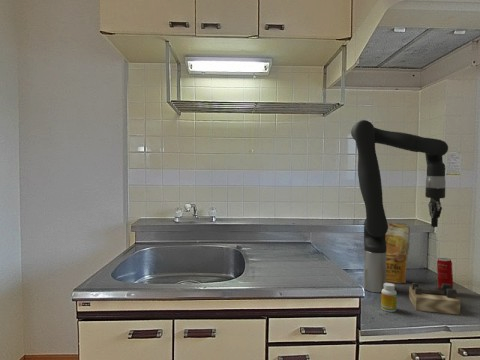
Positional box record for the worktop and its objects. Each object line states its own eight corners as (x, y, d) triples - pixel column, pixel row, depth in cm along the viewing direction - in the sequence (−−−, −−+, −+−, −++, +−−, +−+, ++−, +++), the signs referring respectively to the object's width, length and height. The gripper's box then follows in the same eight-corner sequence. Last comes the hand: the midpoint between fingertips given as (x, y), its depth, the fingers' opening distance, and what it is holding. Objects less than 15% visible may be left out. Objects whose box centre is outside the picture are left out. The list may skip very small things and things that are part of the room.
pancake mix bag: (366, 276, 182) (367, 220, 181) (408, 281, 175) (409, 223, 174) (365, 279, 176) (366, 222, 175) (408, 285, 169) (410, 225, 167)
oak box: (415, 310, 139) (416, 289, 139) (409, 297, 153) (409, 278, 152) (459, 314, 135) (460, 293, 135) (448, 301, 149) (449, 281, 148)
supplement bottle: (394, 313, 136) (395, 287, 136) (379, 310, 139) (380, 285, 139) (397, 308, 141) (397, 283, 140) (382, 305, 143) (383, 281, 143)
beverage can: (455, 296, 155) (456, 261, 154) (438, 295, 156) (439, 260, 155) (450, 291, 160) (451, 257, 160) (434, 290, 162) (435, 256, 161)
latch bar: (416, 292, 143) (416, 289, 143) (414, 288, 147) (414, 285, 147) (451, 294, 140) (451, 291, 140) (448, 291, 144) (448, 288, 144)
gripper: (422, 185, 164) (421, 224, 165) (429, 187, 151) (428, 228, 152) (440, 186, 162) (439, 224, 163) (449, 187, 149) (448, 229, 150)
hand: (434, 226), depth 157 cm, fingers closed
